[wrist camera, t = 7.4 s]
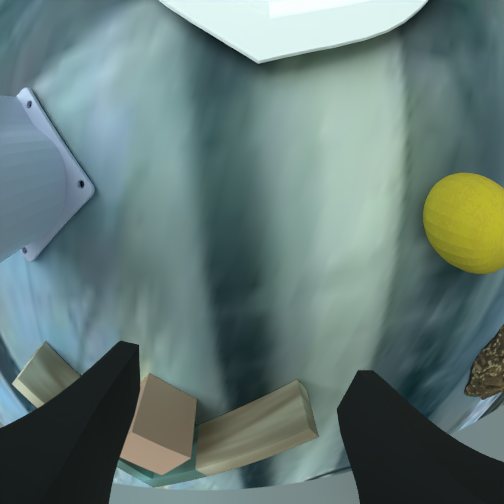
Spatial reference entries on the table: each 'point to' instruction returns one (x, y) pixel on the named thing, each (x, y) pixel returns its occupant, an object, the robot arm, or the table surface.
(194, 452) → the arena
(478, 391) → the bread roll
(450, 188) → the lemon
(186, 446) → the block
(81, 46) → the table surface
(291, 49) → the plate
